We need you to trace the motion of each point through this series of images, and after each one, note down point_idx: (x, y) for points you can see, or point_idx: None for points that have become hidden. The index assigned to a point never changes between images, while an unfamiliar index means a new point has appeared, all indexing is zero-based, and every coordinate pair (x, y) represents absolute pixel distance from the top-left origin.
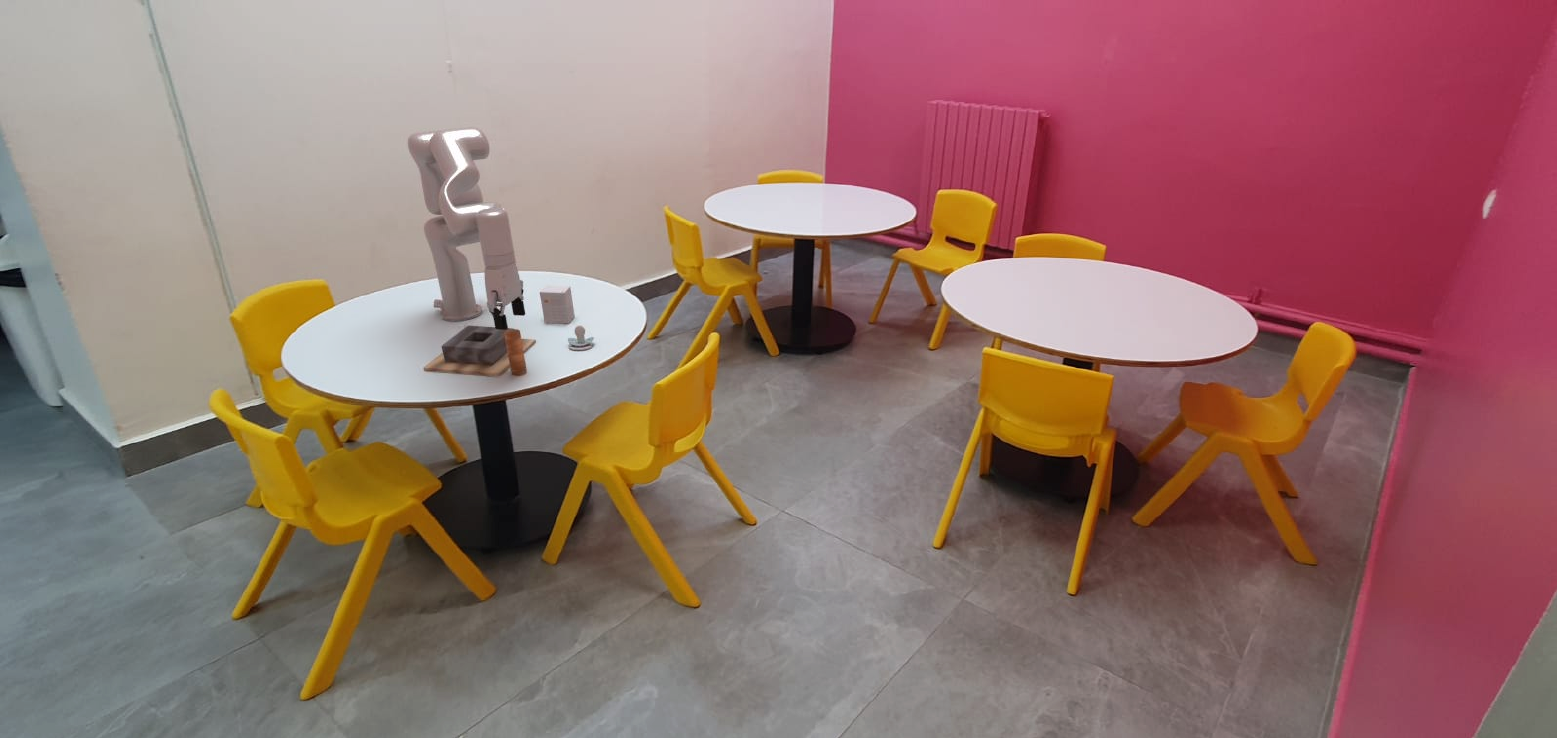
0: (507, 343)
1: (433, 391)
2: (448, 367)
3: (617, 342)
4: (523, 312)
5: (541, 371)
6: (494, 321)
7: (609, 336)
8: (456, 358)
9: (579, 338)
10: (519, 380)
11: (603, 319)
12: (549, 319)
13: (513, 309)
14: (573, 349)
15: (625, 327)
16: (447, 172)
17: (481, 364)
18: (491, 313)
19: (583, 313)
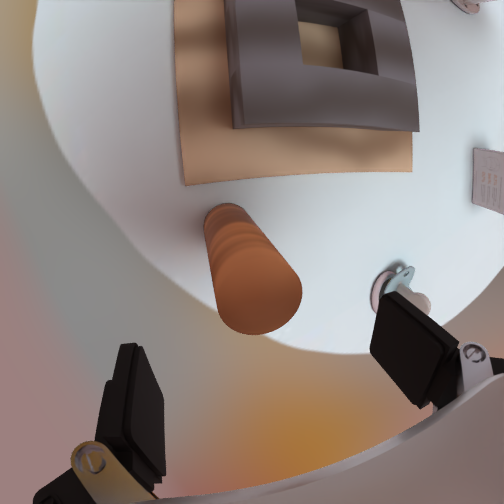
0: (214, 267)
1: (60, 65)
2: (188, 8)
3: None
4: (379, 361)
5: None
6: (113, 387)
7: None
8: (227, 7)
9: (404, 296)
10: (182, 256)
11: (477, 257)
12: (480, 161)
13: (403, 321)
14: (373, 288)
15: (449, 311)
16: None
17: (229, 89)
18: (73, 462)
19: None
